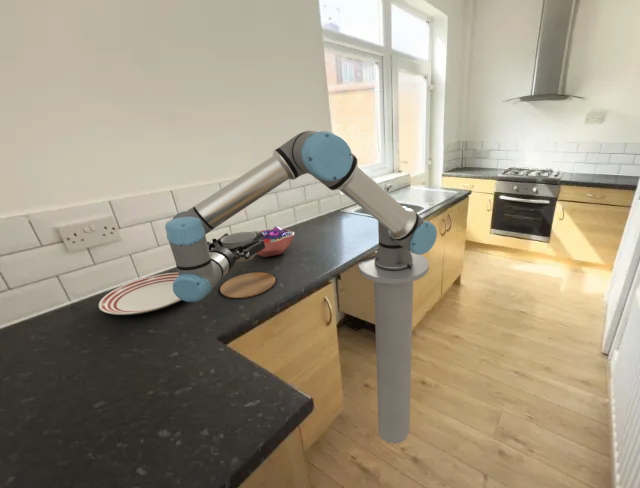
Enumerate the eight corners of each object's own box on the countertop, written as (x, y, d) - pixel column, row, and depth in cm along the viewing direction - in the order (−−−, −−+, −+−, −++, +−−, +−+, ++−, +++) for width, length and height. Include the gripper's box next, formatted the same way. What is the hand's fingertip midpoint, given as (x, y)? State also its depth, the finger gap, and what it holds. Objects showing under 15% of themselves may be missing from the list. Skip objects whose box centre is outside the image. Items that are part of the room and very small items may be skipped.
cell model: (242, 253, 137) (237, 228, 132) (287, 242, 148) (284, 219, 143) (254, 266, 124) (249, 239, 120) (302, 254, 135) (299, 229, 131)
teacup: (237, 268, 99) (232, 244, 96) (218, 260, 105) (213, 237, 102) (274, 253, 110) (270, 232, 107) (255, 247, 116) (251, 226, 112)
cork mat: (286, 279, 115) (286, 278, 114) (245, 303, 100) (245, 302, 100) (251, 269, 122) (250, 268, 122) (208, 290, 108) (208, 289, 108)
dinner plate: (122, 286, 111) (119, 277, 110) (208, 273, 119) (206, 265, 118) (84, 331, 88) (79, 321, 86) (195, 312, 96) (192, 303, 94)
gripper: (177, 277, 89) (212, 247, 110) (260, 274, 90) (280, 246, 110) (169, 252, 86) (207, 227, 107) (256, 250, 87) (277, 225, 107)
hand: (244, 236), depth 108 cm, fingers closed on teacup, 11 cm apart
